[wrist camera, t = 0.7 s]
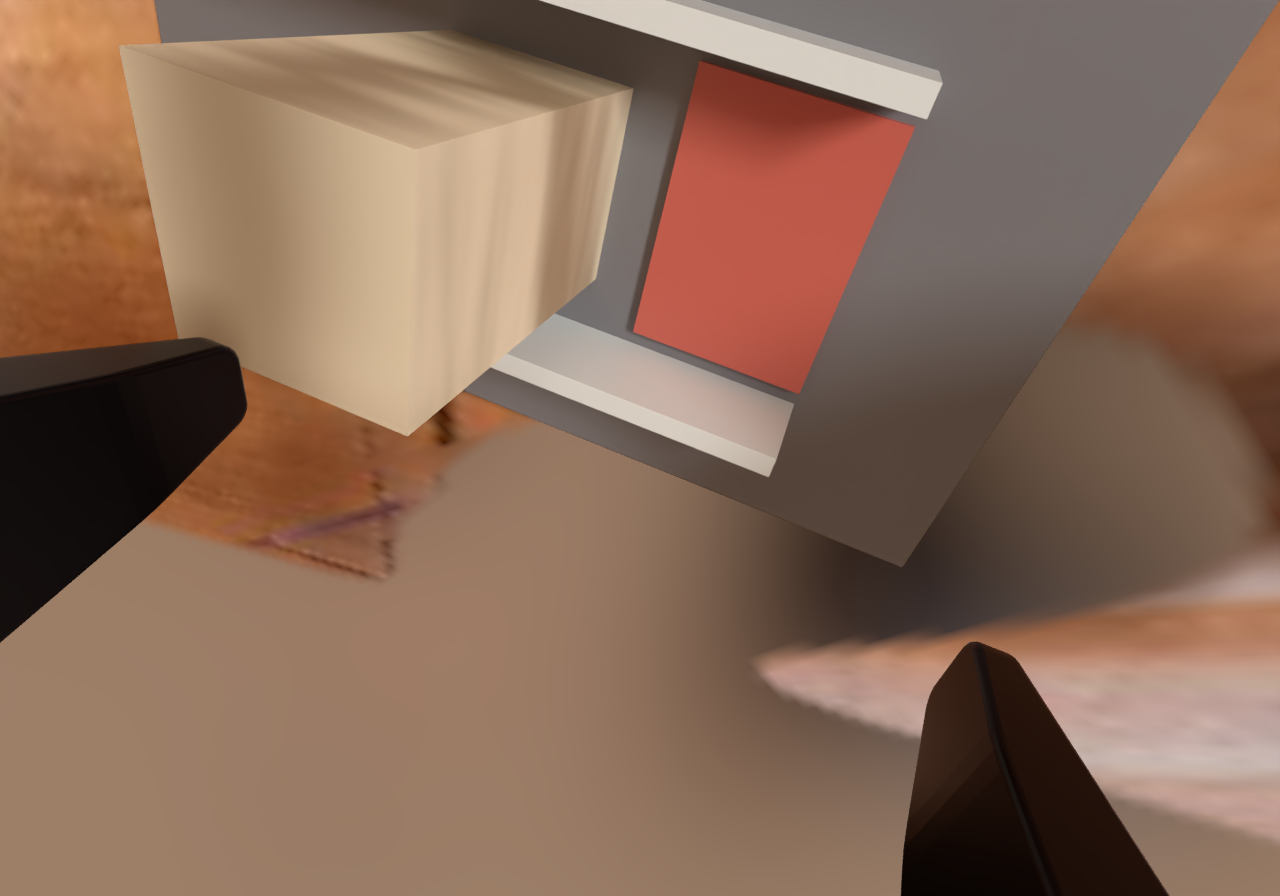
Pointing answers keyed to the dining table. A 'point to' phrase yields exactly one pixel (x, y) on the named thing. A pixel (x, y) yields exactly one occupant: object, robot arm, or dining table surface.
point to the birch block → (373, 204)
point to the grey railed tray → (827, 221)
